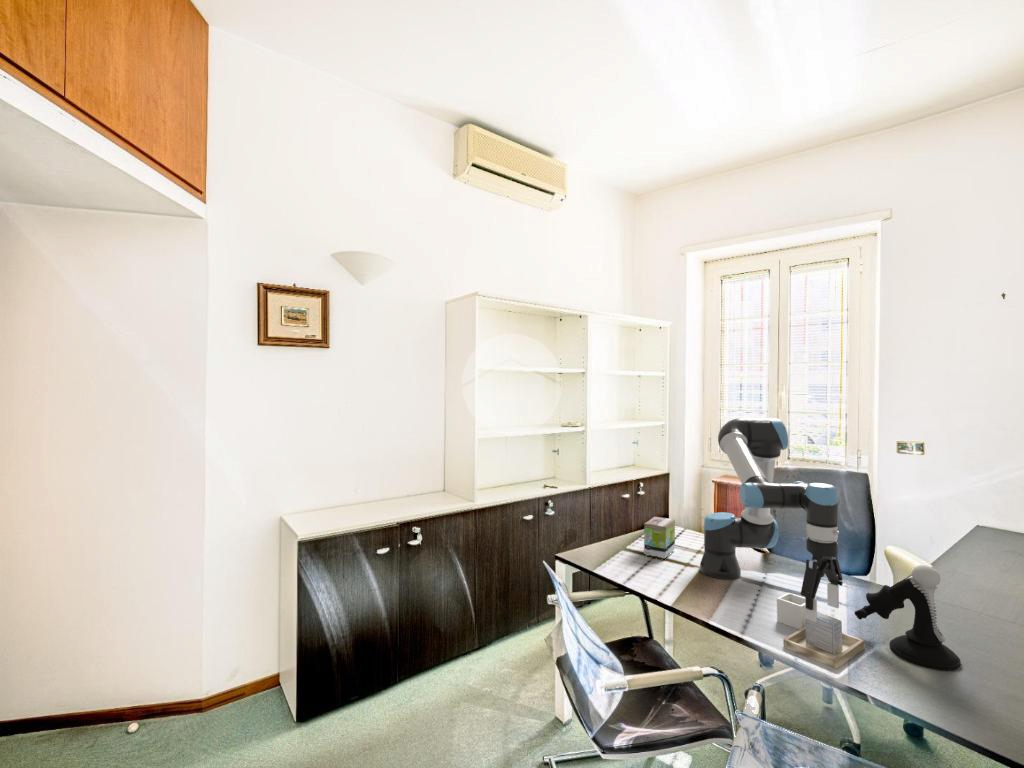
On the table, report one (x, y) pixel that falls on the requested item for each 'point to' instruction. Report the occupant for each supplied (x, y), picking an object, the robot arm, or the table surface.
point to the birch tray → (800, 646)
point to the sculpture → (915, 620)
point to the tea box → (659, 537)
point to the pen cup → (791, 610)
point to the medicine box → (825, 633)
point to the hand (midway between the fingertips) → (822, 613)
